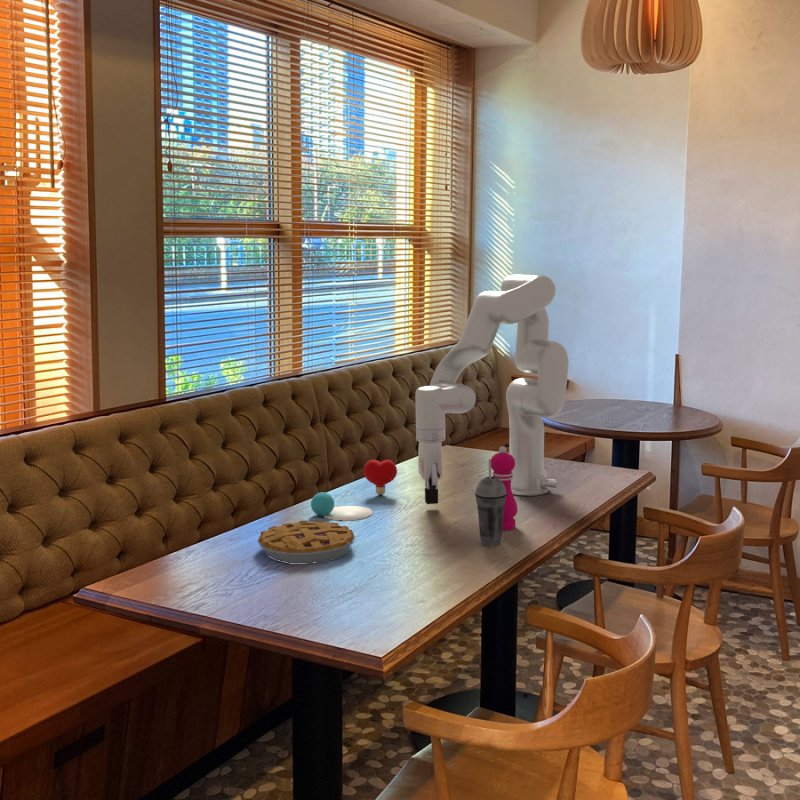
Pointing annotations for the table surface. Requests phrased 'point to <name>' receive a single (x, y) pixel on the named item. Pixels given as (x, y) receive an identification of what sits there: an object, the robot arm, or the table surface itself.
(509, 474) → the pepper mill
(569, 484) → the table surface
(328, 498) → the ball
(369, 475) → the light bulb
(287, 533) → the pie
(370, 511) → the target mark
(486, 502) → the beverage cup
